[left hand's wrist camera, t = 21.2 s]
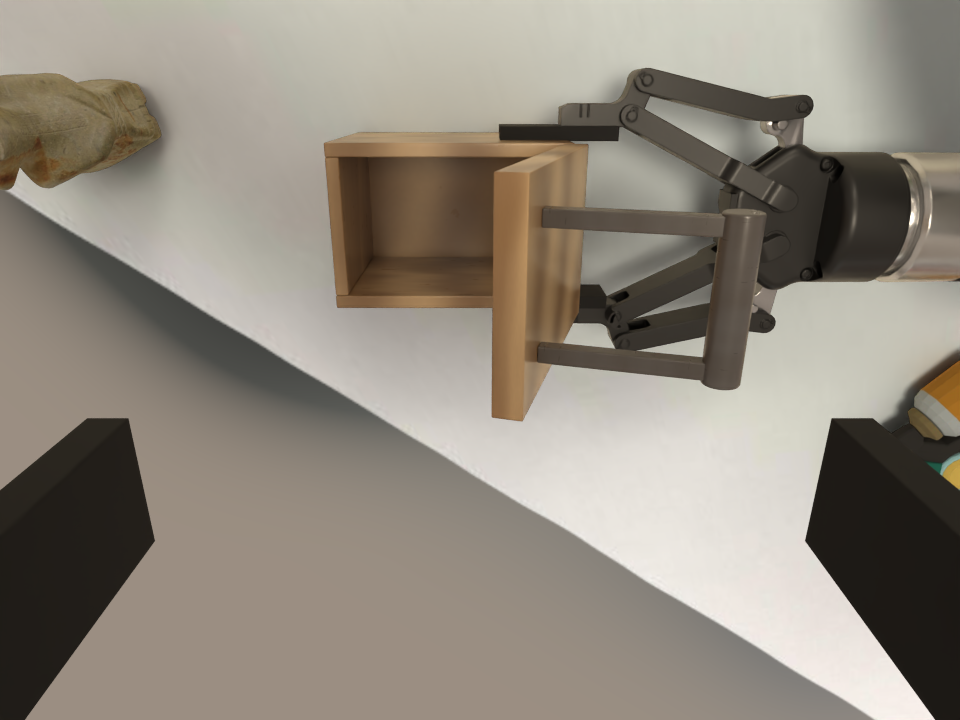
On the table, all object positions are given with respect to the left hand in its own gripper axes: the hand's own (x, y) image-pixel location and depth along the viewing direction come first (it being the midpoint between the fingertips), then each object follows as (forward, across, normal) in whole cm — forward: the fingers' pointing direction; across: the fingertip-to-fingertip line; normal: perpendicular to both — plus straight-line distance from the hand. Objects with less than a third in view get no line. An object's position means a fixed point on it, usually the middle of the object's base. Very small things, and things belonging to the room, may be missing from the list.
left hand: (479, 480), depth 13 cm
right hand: (+29, +1, 0) cm, 29 cm away
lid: (+18, +2, 0) cm, 18 cm away
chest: (+36, -2, 0) cm, 36 cm away
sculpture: (+36, -24, +5) cm, 43 cm away
